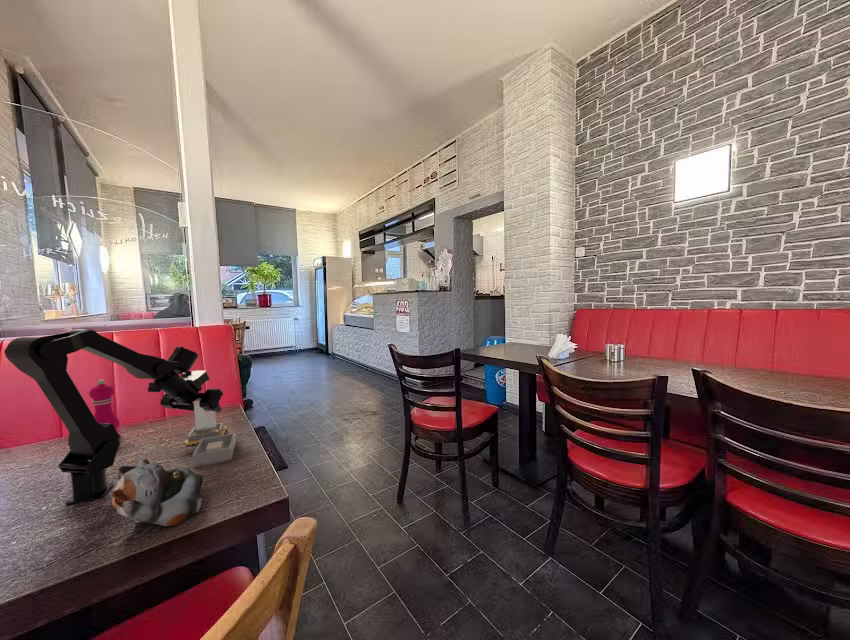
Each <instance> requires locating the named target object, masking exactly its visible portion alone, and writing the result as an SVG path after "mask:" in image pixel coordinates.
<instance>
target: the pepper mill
mask: <svg viewBox="0 0 850 640" xmlns="http://www.w3.org/2000/svg"><path fill="white" fill-rule="evenodd" d="M105 382H106V381H105V380H104V379H99V380H97V381H96V383H97V384H96V385H94V386H92V387H91V388H90V389H89V392H88V396H89V397H90V398H91V399H92V401H91V402H92V404H91V405H92V406H94V414H93V416H94V417H95V419H96V421H97V422H98V423H106V424H113V425H114V427H115V430H116V432H117V433H118V435H120V434H119V430H118V428H119V427H120V424H121V423H120V419H119V418H118V416H117V415H116V414H115V413H114V411H113V409H112V403H113V402H114V398H113V395H114V393H115V388H114V386H112V385H111V384H108V383H105Z"/></svg>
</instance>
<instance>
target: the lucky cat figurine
mask: <svg viewBox="0 0 850 640" xmlns="http://www.w3.org/2000/svg"><path fill="white" fill-rule="evenodd" d="M118 471H119V473H118V480H117V484H116V486H115V488H114V490H113V491H112V493H111V497H112V501H111V504H112V507H113V508H115V509H116V512H117V514H118V515H120V516H123V517H124V518H127V519H130V520H133V521H134V522H135V523H145V524H146V523H147V524H156V525H159V526H163V527H176V526H178V525H179V524H182V523H183V522H185V521H187V520H190V519H191V518H192V517H193V515H195V514H196V513H198V512H199V511H200V509H201V507H202V503H203V497H202V496H201V489H202V485H203V480H204V477H203V474H199V473H197V474H196V473H195V472H193V470H191V469H190V468H188V467H183V466H182V467H181V466H180V467H175V468H173V469H169V470H165V468H164V467H163V466H162V464H160V463H154V462H153V463H150V461H149V460H148V459H146V458H142V459H140V460H139V461H138V463H137V465H136V466H129V465H122V466H119V468H118Z"/></svg>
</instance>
